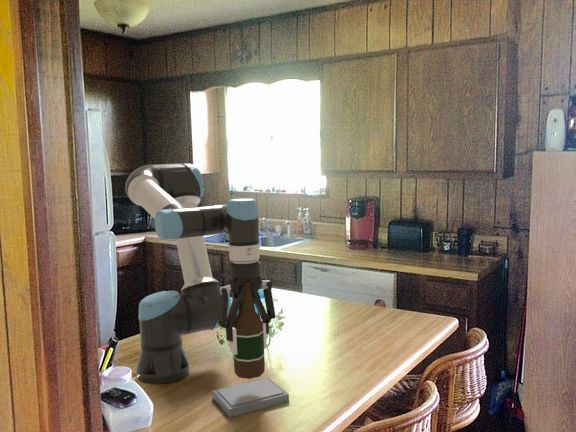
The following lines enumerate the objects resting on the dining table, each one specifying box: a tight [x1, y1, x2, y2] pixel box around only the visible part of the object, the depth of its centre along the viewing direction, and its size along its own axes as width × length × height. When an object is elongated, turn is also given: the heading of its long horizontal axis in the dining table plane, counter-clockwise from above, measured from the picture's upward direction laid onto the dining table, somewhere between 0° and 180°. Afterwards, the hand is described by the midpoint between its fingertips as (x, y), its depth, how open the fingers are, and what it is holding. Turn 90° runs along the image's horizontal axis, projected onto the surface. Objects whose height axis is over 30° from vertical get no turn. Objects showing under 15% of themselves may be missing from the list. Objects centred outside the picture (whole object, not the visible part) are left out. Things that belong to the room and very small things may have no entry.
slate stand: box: [212, 377, 290, 418], centre depth 137 cm, size 12×16×2 cm
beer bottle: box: [233, 281, 266, 380], centre depth 135 cm, size 8×8×24 cm
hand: (248, 349), depth 136 cm, fingers closed on beer bottle, 7 cm apart
